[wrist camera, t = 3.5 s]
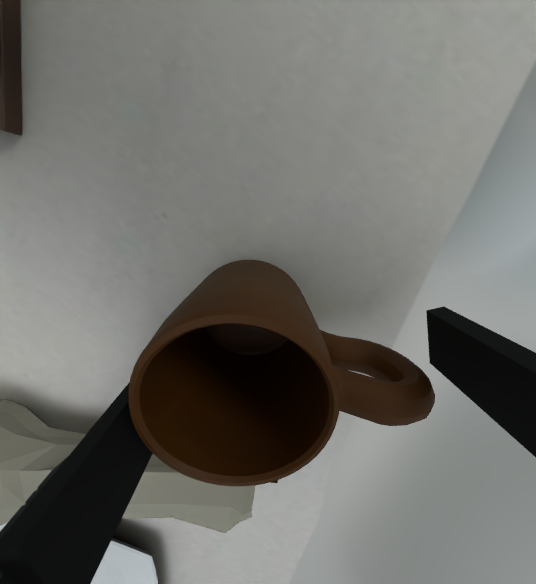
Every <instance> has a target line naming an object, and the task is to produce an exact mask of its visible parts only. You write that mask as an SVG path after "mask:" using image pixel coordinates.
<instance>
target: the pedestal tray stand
mask: <svg viewBox="0 0 536 584" xmlns="http://www.w3.org/2000/svg"><path fill="white" fill-rule="evenodd" d="M0 130H3V131H7V132H10V133H14V134H17V135H22V104H21V35H20V0H0Z"/></svg>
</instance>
